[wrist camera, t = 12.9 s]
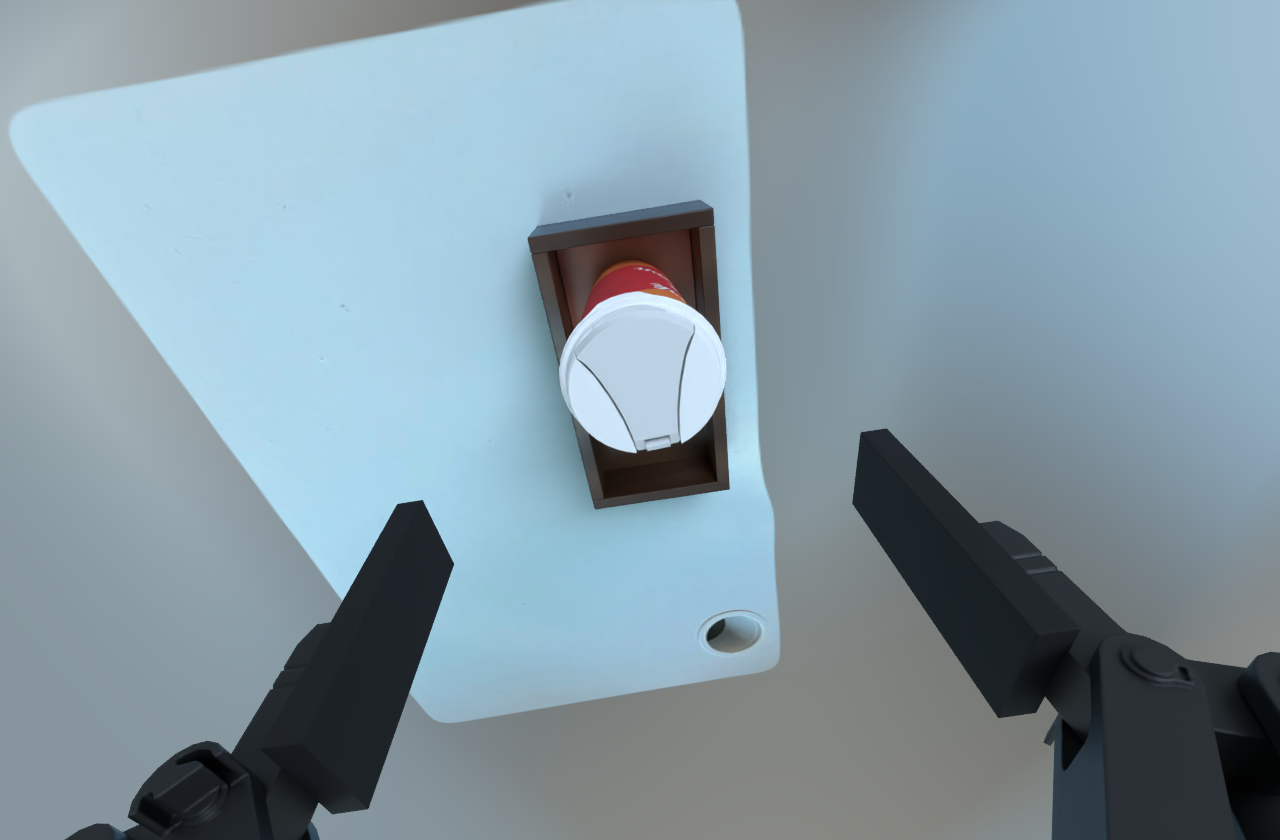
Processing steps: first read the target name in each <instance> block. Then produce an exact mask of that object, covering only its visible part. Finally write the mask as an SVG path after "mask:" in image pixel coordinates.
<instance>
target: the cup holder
mask: <svg viewBox="0 0 1280 840" xmlns="http://www.w3.org/2000/svg"><path fill="white" fill-rule="evenodd" d="M528 243H529V247H530V251H531V253H532V259H533V263H534V267H535V271H536V275H537V279H538V283H539V287H540V291H541V295H542V299H543V303H544V307H545V311H546V315H547V319H548V323H549V327H550V331H551V335H552V339H553V343H554V347H555V351H556V355H557V359H558V363H559V367H560V360H561V356H562V353H563V349H564V346H565V344H566V342H567V340H568V338H569V336H570V335H571V333H572V332H573V330H574V329H575V328H576V326H577V325H578V324H579V323H580V320H581V317H582V314H583V312H584V309H585V306H586V303H587V300H588V297H589V294H590V292H591V289H592V287H593V285H594V282H595V281H596V279H597V277H598V276H599V274H600V273H601V272H602V271H603V270H604V269H605V268H606V267H608V266H609V265H611V264H612V263H614V262H617V261H619V260H623V259H640V260H644V261H647V262H649V263H651V264H653V265H654V266H656V267H657V268H658V269H659V270H661V271H662V272H663V273H664V275H665V276H666V277H667V278H668V279H669V281H670V282H671V283H672V284H673V286H674V287H675V288H676V290H677V291H678V292H679V294H680V295H681V297H682V298H683V299H684V301H685V302H686V303H687V305H688V306H690V307H692V308H693V309H695V310H696V311H697V312H698V313H700V314H701V315H702V316H703V317H704V318H705V319H706V320H707V321H708V322H709V323H710V324H711V325H712V327H713V328H714V330H715V332H716V333H717V335H718V336H719V339H720V341H721V331H720V313H719V296H718V279H717V261H716V244H715V227H714V211H713V208H712V207H710V206H709V205H707V204H706V203H704V202H702V201H701V200H697V201H691V202H685V203H678V204H672V205H666V206H660V207H654V208H647V209H641V210H635V211H629V212H623V213H616V214H610V215H604V216H598V217H592V218H585V219H579V220H573V221H567V222H561V223H555V224H548V225H542V226H537V227H536V229H535V230H534V231H533V232H532V233H531V235H530V236H529V237H528ZM570 412H571V411H570ZM571 416H572V420H573V424H574V428H575V432H576V436H577V440H578V444H579V448H580V452H581V456H582V460H583V464H584V468H585V472H586V476H587V480H588V484H589V488H590V492H591V496H592V500H593V504H594V508H595V509H601V508H608V507H615V506H621V505H628V504H635V503H642V502H648V501H655V500H662V499H668V498H675V497H682V496H689V495H695V494H702V493H709V492H716V491H722V490H729V489H730V487H729V469H728V452H727V435H726V417H725V400H724V389H723V392H722V395H721V397H720V399H719V401H718V404H717V407H716V409H715V411H714V413H713V415H712V416H711V418H710V419H709V420H708V422H707V423H706V424H705V425H704V426H703V428H702V429H701V430H700V431H699V432H698V433H696V434H695V435H694V436H693V437H691V438H690V439H688V440H687V441H685V442H683V443H681V440H680V441H679V442H677V443H673V444H670V445H671V446H670V447H665V448H660V449H656V450H651V451H647V449H644V450H638V449H637V453H632V452H625V451H622V450H618V449H615V448H612V447H610V446H607V445H605V444H604V443H602V442H600V441H599V440H597V439H595V438H594V437H593V436H592V435H591V434H589V433H588V432H587V431H586V430H585V429H584V428H583V426H582V425H581V424H580V423H579V422H578V421H577V419H576V418H575V417H574V416H573V414H572V413H571Z"/></svg>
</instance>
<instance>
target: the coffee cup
mask: <svg viewBox="0 0 1280 840" xmlns="http://www.w3.org/2000/svg"><path fill="white" fill-rule="evenodd" d="M726 372H727V371H726V358H725V353H724V349H723V346H722V343H721V341H720V339H719V336H718V335H717V333H716V332H715V330H714V328H713V327H712V325H711V324H710V323H709V322H708V321H707V320H706V319H705V318H704V317H703V316H702V315H701V314H700V313H698V312H697V311H696V310H695V309H693V308H692V307H690V306H688V305H687V303H686V302H685V301H684V299H683V298H682V297H681V295H680V294H679V292H678V291H677V290H676V288H675V287H674V286H673V284H672V283H671V282H670V281H669V279H668V278H667V277H666V276H665V275H664V273H663V272H662V271H661V270H659V269H658V268H657V267H656V266H654V265H653V264H651V263H649V262H647V261H644V260H640V259H623V260H619V261H617V262H614V263H612V264H611V265H609V266H608V267H606V268H605V269H604V270H603V271H602V272H601V273H600V274H599V276H598V277H597V279H596V281H595V282H594V285H593V287H592V289H591V292H590V294H589V297H588V300H587V303H586V306H585V309H584V312H583V314H582V317H581V320H580V323H579V324H578V325H577V326H576V328H575V329H574V330H573V332H572V333H571V335H570V336H569V338H568V340H567V342H566V344H565V346H564V349H563V353H562V356H561V360H560V369H559V377H560V386H561V391H562V395H563V397H564V400H565V402H566V404H567V407H568V408H569V410H570V411H571V413H572V414H573V416H574V417H575V418H576V419H577V421H578V422H579V423H580V424H581V425H582V426H583V428H584V429H585V430H586V431H587V432H588V433H589V434H591V435H592V436H593V437H594V438H595V439H597V440H599V441H600V442H602V443H604V444H605V445H607V446H610V447H612V448H615V449H618V450H622V451H625V452H632V453H637V449H638V450H644V449H647V451H651V450H656V449H660V448H665V447H670V446H671V445H670V444H673V443H677V442H679V441H680V440H681V443H683V442H685V441H687V440H688V439H690V438H691V437H693V436H694V435H695V434H696V433H698V432H699V431H700V430H701V429H702V428H703V426H704V425H705V424H706V423H707V422H708V420H709V419H710V418H711V416H712V415H713V413H714V411H715V409H716V407H717V404H718V401H719V399H720V397H721V395H722V392H723V389H724V385H725V380H726Z"/></svg>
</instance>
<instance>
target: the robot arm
mask: <svg viewBox="0 0 1280 840" xmlns="http://www.w3.org/2000/svg"><path fill="white" fill-rule="evenodd" d="M852 504H853V505H854V506H855V508H856V510H857V511H858V512H859V514H860V515H861V517H862V518H863V520H864V521H865V523H866V524H867V525H868V527H869V529H870V530H871V532H872V533H873V535H874V536H875V537H876V539H877V540H878V542H879V543H880V545H881V546H882V548H883V549H884V551H885V552H886V553H887V555H888V557H889V558H890V560H891V561H892V562H893V564H894V565H895V567H896V568H897V570H898V571H899V573H900V574H901V576H902V577H903V579H904V580H905V582H906V583H907V585H908V586H909V587H910V589H911V590H912V592H913V593H914V595H915V596H916V598H917V599H918V601H919V602H920V603H921V605H922V607H923V608H924V609H925V611H926V612H927V614H928V615H929V617H930V618H931V620H932V621H933V623H934V624H935V625H936V627H937V629H938V630H939V632H940V633H941V634H942V636H943V637H944V639H945V640H946V642H947V643H948V645H949V646H950V648H951V649H952V651H953V652H954V654H955V655H956V656H957V658H958V659H959V661H960V662H961V664H962V665H963V667H964V668H965V670H966V671H967V673H968V674H969V676H970V677H971V678H972V680H973V681H974V683H975V684H976V686H977V687H978V689H979V690H980V692H981V693H982V695H983V696H984V698H985V699H986V701H987V702H988V703H989V705H990V706H991V708H992V709H993V711H994V712H995V714H996V715H997V717H998V718H1002V717H1010V716H1017V715H1024V714H1031V713H1036V712H1037V710H1038V708H1039V706H1040V704H1041V702H1042V701H1043V699H1044V697H1046V698H1047V699H1048V700H1049V702H1050V703H1051V704H1052V705H1053V707H1054V708H1055V709H1056V711H1057V712H1058V713H1059V714H1058V716H1057V717H1056V719H1055V721H1054V722H1053V724H1052V726H1051V727H1050V729H1049V731H1048V733H1047V735H1046V737H1045V740H1044V743H1046V744H1048V745H1050V746H1051V744H1052V743H1053V741H1054V740H1055V744H1054V746H1055V747H1054V777H1053V780H1054V781H1053V813H1052V814H1053V815H1052V840H1280V653H1276V652H1269V653H1265V654H1262V655H1259V656H1257V657H1256V658H1255V659H1254V660H1253V661H1252V663H1251V664H1250V665H1249V666H1248V667H1247V668H1242V667H1235V666H1228V665H1221V664H1214V663H1207V662H1200V661H1192V660H1188V659H1185V658H1183V657H1182V656H1181V655H1179V654H1178V653H1176V652H1174V651H1173V650H1172V649H1170V648H1169V647H1167V646H1166V645H1163V644H1161V643H1159V642H1156V641H1154V640H1152V639H1150V638H1147V637H1144V636H1140V635H1135V634H1131V633H1127V632H1126V631H1125V630H1124V629H1122V628H1121V627H1120V626H1119V625H1118V624H1117V623H1116V622H1114V621H1113V620H1112V619H1111V618H1110V617H1109V616H1108V615H1107V614H1106V613H1105V612H1104V611H1103V610H1102V609H1101V608H1100V607H1099V606H1097V604H1095V603H1094V602H1093V601H1092V600H1091V599H1090V598H1089V597H1088V596H1087V595H1086V594H1085V593H1084V592H1083V591H1082V590H1081V589H1080V588H1079V587H1077V586H1076V585H1075V584H1074V583H1073V582H1072V581H1071V580H1070V579H1069V578H1068V577H1067V576H1066V575H1065V574H1064V573H1063V572H1062V571H1058V570H1057V567H1056V566H1055V565H1054V564H1053V563H1052V562H1051V561H1050V560H1049V559H1048V558H1047V557H1046V556H1042V554H1041V553H1042V552H1040V551H1039V550H1038V549H1037V548H1036V547H1035V546H1034V545H1033V544H1032V543H1031V542H1030V541H1029V540H1028V539H1027V538H1026V537H1025V536H1024V535H1022V534H1021V533H1019V532H1017V531H1015V530H1014V529H1012V528H1010V527H1008V526H1007V525H1005V524H1003V523H1001V522H999V521H993V522H986V523H978V522H977V521H976V520H975V519H974V518H973V517H972V516H971V515H970V514H969V513H968V512H967V510H966V509H965V508H964V507H963V506H962V505H961V504H960V503H959V502H958V501H957V500H956V499H955V498H954V497H953V496H952V495H951V494H950V493H949V492H948V491H947V490H946V489H945V488H944V487H943V486H942V485H941V484H940V483H939V482H938V481H937V480H936V479H935V478H934V477H933V476H932V475H931V474H930V473H929V472H928V470H927V469H926V468H925V467H924V466H923V465H922V464H921V463H920V462H919V461H918V460H917V459H916V458H915V457H914V456H913V455H912V454H911V453H910V452H909V451H908V450H907V449H906V448H905V447H904V446H903V445H902V444H901V443H900V442H899V441H898V440H897V439H896V438H895V437H894V436H893V435H892V434H891V432H890V431H889V430H888V429H881V430H874V431H867V432H861V435H860V443H859V452H858V460H857V468H856V477H855V486H854V495H853V503H852ZM453 566H454V563H453V561H452V559H451V557H450V555H449V553H448V551H447V549H446V547H445V545H444V543H443V541H442V539H441V536H440V534H439V532H438V530H437V528H436V526H435V524H434V522H433V520H432V518H431V516H430V514H429V512H428V510H427V508H426V506H425V504H424V502H423V500H420V501H414V502H407V503H401V504H397V506H396V507H395V509H394V511H393V513H392V515H391V516H390V518H389V520H388V522H387V523H386V525H385V527H384V529H383V531H382V532H381V534H380V536H379V538H378V539H377V541H376V543H375V545H374V547H373V548H372V550H371V552H370V554H369V555H368V557H367V559H366V561H365V563H364V564H363V566H362V568H361V570H360V571H359V573H358V575H357V577H356V579H355V580H354V582H353V584H352V586H351V587H350V589H349V591H348V593H347V595H346V596H345V598H344V600H343V602H342V603H341V605H340V607H339V609H338V611H337V612H336V614H335V616H334V618H333V619H332V621H331V622H330V623H323V624H317V625H316V626H315V627H314V628H313V629H312V630H311V631H310V632H309V633H308V634H307V635H306V636H305V637H304V638H303V639H302V640H301V642H300V643H299V644H298V645H297V646H296V648H295V649H294V651H293V653H292V654H291V656H290V658H289V659H288V661H287V663H286V664H285V666H284V671H281V673H280V674H279V676H278V678H277V679H276V681H275V683H274V684H273V689H272V690H270V691H269V693H268V694H267V696H266V697H265V699H264V701H263V703H262V704H261V706H260V707H259V709H258V711H257V712H256V714H255V716H254V717H253V719H252V721H251V722H250V724H249V726H248V727H247V729H246V731H245V732H244V734H243V735H242V737H241V739H240V740H239V742H238V744H237V745H236V747H235V749H234V750H233V752H232V754H230V753H229V752H228V751H227V750H225V749H224V748H223V747H222V746H221V745H220V744H218V743H215V742H210V741H205V742H201V743H197V744H194V745H191V746H190V747H188V748H186V749H184V750H182V751H180V752H178V753H177V754H175V755H174V756H173V757H171V758H170V759H169V760H167V762H165V763H164V764H162V765H161V766H160V767H159V768H158V769H157V770H156V771H155V772H154V773H153V774H152V775H151V776H150V777H149V778H148V779H147V781H146V782H145V783H144V784H143V785H142V787H141V788H140V790H139V791H138V793H137V795H136V796H135V798H134V799H133V801H132V804H131V807H130V811H129V814H128V818H130V819H131V820H133V821H135V822H136V823H138V824H139V825H137V826H135V827H133V828H131V829H128V830H126V831H124V832H121V831H119V830H118V829H116V828H115V827H113V826H111V825H109V824H94V825H91V826H89V827H86V828H84V829H81V830H79V831H77V832H76V833H74V834H73V835H71V836H70V837H68V838H67V839H65V840H319V836H318V832H317V829H316V828H315V826H314V825H313V823H312V822H311V819H312V816H313V814H314V812H315V809H316V807H317V805H318V802H319V803H320V804H321V805H323V806H324V807H325V808H326V809H327V810H328V811H329V812H330V813H331V814H337V813H345V812H351V811H358V810H365V809H368V808H369V805H370V802H371V800H372V797H373V794H374V791H375V788H376V785H377V782H378V780H379V777H380V774H381V771H382V768H383V765H384V763H385V760H386V757H387V754H388V751H389V748H390V745H391V742H392V740H393V737H394V734H395V731H396V728H397V725H398V723H399V720H400V717H401V714H402V711H403V708H404V705H405V703H406V700H407V697H408V694H409V691H410V688H411V686H412V683H413V680H414V677H415V674H416V671H417V668H418V666H419V663H420V660H421V657H422V654H423V651H424V648H425V646H426V643H427V640H428V637H429V634H430V631H431V629H432V626H433V623H434V620H435V617H436V614H437V611H438V609H439V606H440V603H441V600H442V597H443V594H444V591H445V589H446V586H447V583H448V580H449V577H450V574H451V571H452V569H453Z"/></svg>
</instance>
